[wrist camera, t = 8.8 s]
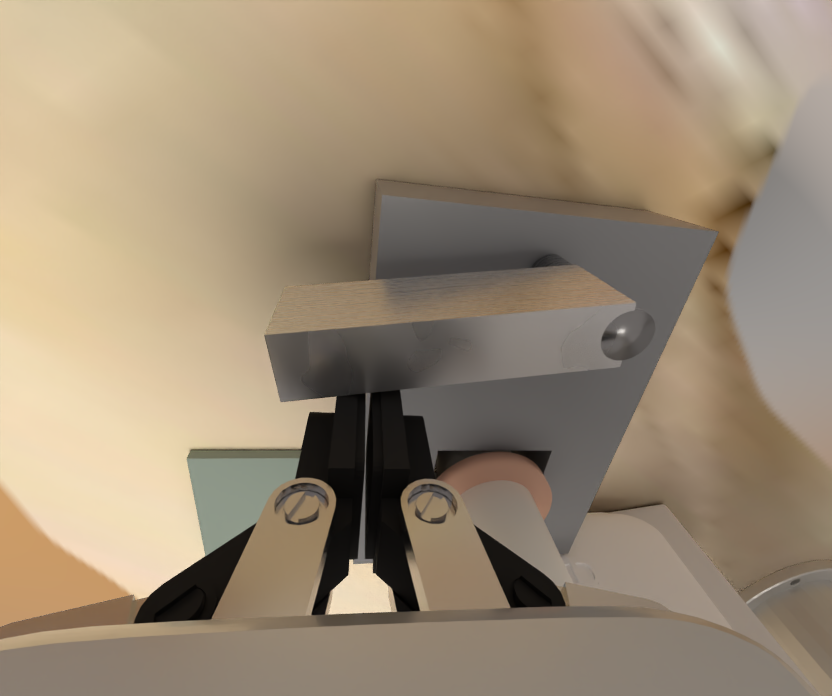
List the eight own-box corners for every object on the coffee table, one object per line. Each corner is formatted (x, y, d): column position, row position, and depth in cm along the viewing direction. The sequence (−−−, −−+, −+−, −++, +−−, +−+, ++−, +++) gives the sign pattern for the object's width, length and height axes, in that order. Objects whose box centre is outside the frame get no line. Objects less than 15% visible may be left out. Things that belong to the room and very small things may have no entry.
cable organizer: (408, 607, 29) (436, 859, 19) (423, 507, 24) (471, 776, 14) (597, 592, 32) (709, 809, 22) (646, 498, 27) (821, 723, 17)
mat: (348, 450, 22) (347, 458, 22) (342, 544, 26) (342, 552, 25) (190, 450, 21) (186, 458, 20) (209, 549, 25) (206, 558, 24)
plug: (525, 396, 22) (689, 659, 11) (501, 473, 25) (616, 746, 14) (421, 393, 21) (491, 679, 10) (408, 474, 24) (453, 768, 13)
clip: (563, 296, 15) (645, 364, 11) (303, 317, 14) (281, 402, 10) (570, 247, 14) (664, 300, 10) (293, 266, 13) (264, 335, 9)
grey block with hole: (648, 210, 18) (718, 231, 14) (539, 497, 26) (568, 553, 23) (376, 178, 16) (381, 194, 12) (353, 500, 24) (353, 564, 21)
